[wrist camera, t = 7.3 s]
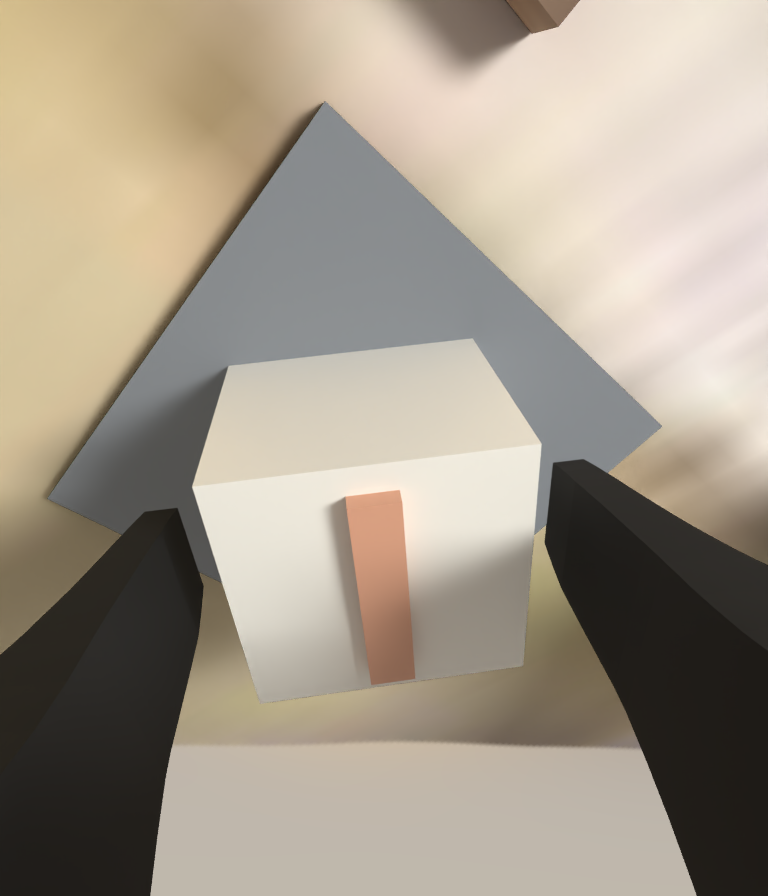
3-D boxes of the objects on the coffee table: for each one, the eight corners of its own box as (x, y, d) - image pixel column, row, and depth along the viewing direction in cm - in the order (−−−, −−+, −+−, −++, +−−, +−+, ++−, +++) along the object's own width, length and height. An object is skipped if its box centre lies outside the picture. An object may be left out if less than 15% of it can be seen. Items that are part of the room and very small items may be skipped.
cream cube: (471, 525, 14) (527, 679, 11) (272, 551, 14) (258, 718, 10) (472, 338, 12) (548, 455, 8) (228, 365, 12) (188, 499, 8)
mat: (653, 418, 14) (662, 426, 14) (383, 650, 17) (384, 661, 17) (324, 100, 10) (325, 101, 9) (54, 488, 13) (47, 498, 13)
